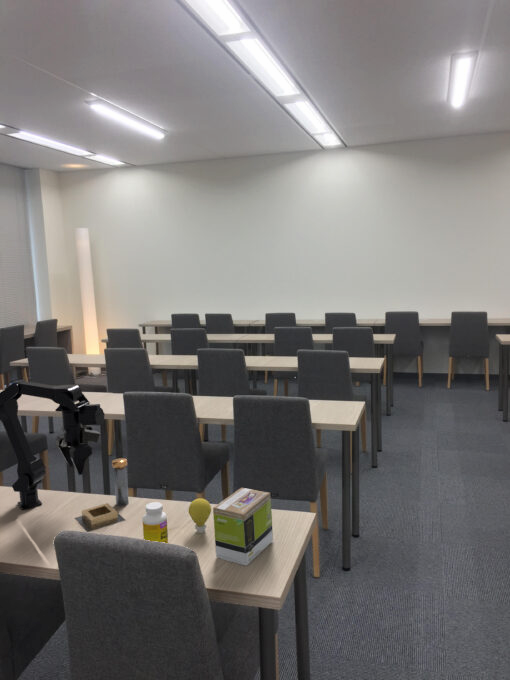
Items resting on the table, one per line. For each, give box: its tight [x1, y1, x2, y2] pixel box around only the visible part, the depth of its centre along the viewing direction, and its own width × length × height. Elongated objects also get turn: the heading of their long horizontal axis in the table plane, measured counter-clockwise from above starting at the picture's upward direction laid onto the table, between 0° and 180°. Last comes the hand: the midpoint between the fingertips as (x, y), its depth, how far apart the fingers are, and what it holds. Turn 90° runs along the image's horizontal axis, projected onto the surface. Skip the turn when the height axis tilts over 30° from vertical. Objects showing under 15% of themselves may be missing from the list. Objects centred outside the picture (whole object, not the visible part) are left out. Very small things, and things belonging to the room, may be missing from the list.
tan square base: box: [74, 503, 126, 533], centre depth 172 cm, size 12×12×3 cm
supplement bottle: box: [142, 501, 169, 544], centre depth 153 cm, size 7×7×13 cm
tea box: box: [212, 487, 274, 566], centre depth 151 cm, size 15×10×15 cm
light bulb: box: [188, 498, 212, 534], centre depth 163 cm, size 7×7×10 cm
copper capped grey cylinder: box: [111, 457, 129, 507], centre depth 181 cm, size 5×5×16 cm
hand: (75, 470), depth 180 cm, fingers open, 9 cm apart
